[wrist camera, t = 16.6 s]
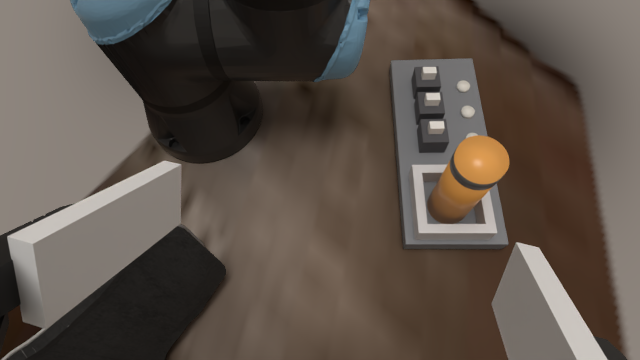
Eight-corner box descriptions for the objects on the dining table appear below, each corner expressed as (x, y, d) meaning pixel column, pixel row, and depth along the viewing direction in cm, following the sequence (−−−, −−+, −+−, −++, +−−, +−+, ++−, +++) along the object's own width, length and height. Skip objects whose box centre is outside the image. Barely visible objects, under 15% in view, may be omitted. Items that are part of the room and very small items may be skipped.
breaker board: (501, 249, 43) (523, 234, 38) (403, 248, 43) (411, 234, 38) (467, 68, 54) (481, 38, 48) (389, 70, 54) (394, 40, 49)
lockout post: (420, 195, 44) (445, 144, 33) (455, 182, 44) (492, 128, 33) (437, 230, 42) (471, 189, 31) (474, 216, 42) (520, 171, 32)
